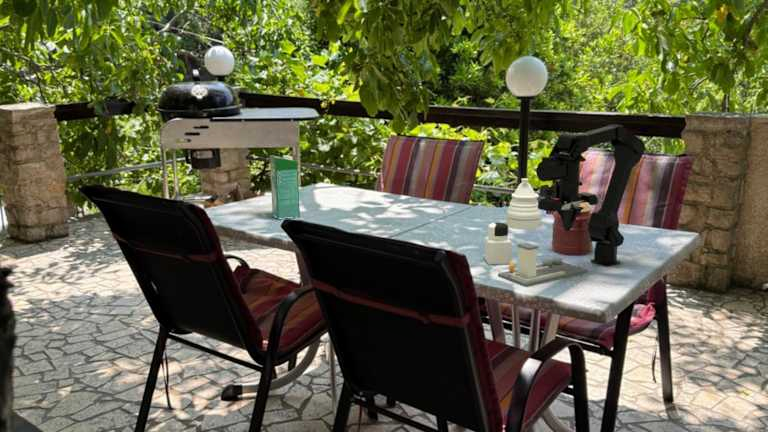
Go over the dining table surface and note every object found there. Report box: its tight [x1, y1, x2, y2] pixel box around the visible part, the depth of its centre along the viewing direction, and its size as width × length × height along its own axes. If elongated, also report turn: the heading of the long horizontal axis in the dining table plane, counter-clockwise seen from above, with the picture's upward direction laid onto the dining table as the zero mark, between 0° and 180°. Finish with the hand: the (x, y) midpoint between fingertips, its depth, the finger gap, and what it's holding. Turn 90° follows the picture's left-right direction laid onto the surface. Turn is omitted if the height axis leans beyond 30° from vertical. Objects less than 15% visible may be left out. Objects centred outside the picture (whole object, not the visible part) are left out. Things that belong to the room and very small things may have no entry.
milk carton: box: [269, 154, 301, 220], centre depth 292 cm, size 9×9×25 cm
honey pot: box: [505, 178, 543, 231], centre depth 272 cm, size 13×13×18 cm
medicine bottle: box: [484, 222, 513, 265], centre depth 227 cm, size 7×7×12 cm
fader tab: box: [516, 242, 539, 279], centre depth 207 cm, size 3×5×10 cm
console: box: [497, 257, 589, 288], centre depth 214 cm, size 24×12×4 cm, turn 122°
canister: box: [551, 202, 594, 256], centre depth 237 cm, size 13×13×18 cm
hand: (567, 230), depth 214 cm, fingers closed
